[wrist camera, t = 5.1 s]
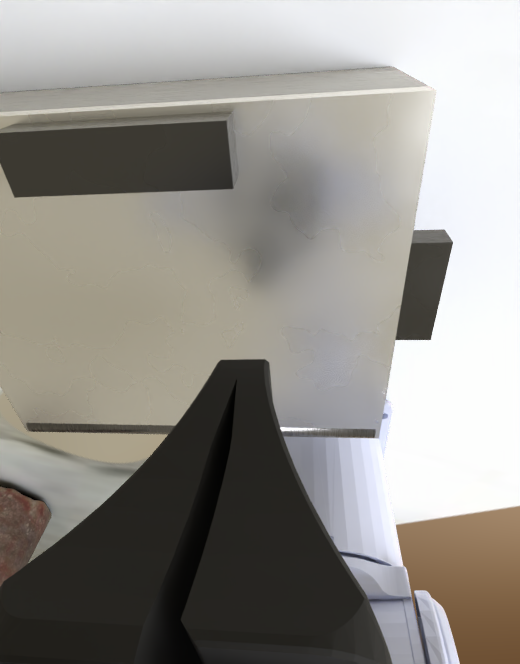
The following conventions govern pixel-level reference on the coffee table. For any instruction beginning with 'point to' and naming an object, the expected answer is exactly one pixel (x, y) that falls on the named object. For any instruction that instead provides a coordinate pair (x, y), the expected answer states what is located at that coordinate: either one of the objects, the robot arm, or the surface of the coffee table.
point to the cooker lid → (207, 255)
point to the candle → (19, 530)
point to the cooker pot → (426, 245)
